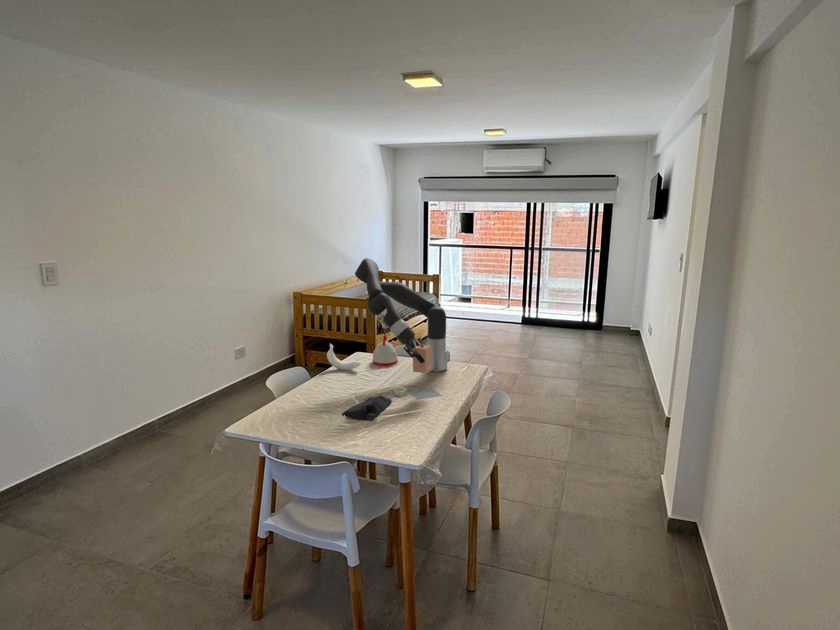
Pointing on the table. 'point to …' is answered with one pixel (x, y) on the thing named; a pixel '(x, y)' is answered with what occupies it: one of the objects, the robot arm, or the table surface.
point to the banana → (341, 364)
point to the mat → (424, 393)
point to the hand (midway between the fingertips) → (426, 360)
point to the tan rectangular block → (426, 355)
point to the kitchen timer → (385, 354)
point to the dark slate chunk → (368, 408)
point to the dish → (400, 392)
